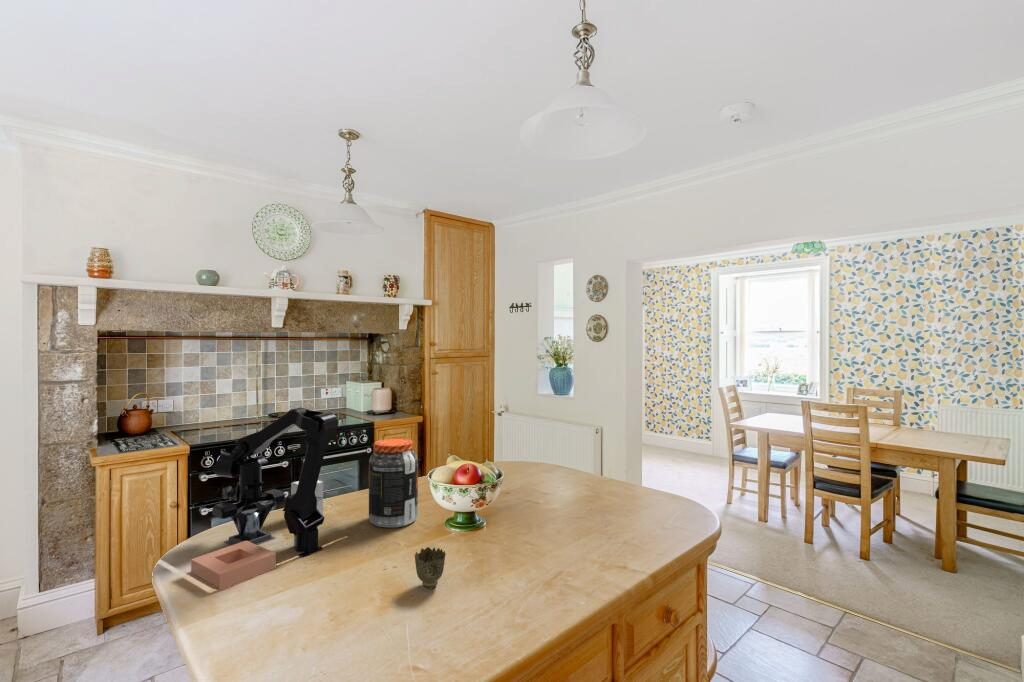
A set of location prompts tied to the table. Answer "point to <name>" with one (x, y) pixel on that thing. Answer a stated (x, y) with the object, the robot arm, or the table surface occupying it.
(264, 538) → the stand
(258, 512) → the steel peg
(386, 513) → the supplement tub
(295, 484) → the supplement box
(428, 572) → the cup
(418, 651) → the table surface
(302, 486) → the robot arm
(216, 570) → the hub block
